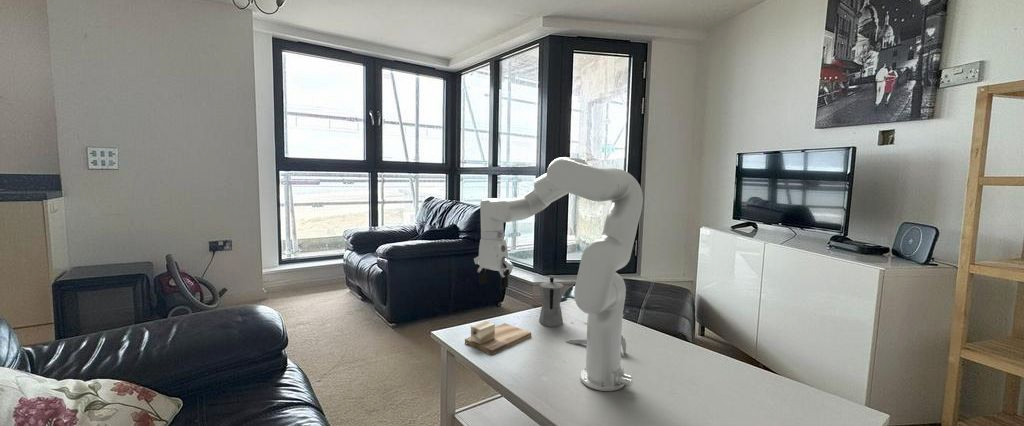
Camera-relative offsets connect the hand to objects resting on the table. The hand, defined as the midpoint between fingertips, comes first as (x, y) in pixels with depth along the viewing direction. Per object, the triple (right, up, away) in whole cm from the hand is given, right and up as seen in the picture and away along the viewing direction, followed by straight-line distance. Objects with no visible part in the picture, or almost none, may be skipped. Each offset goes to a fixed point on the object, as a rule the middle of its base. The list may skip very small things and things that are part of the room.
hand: (493, 285), depth 141 cm
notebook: (+2, -20, +6) cm, 21 cm away
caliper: (+34, -21, +1) cm, 40 cm away
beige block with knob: (-4, -19, +3) cm, 19 cm away
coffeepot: (+21, -19, +22) cm, 36 cm away
